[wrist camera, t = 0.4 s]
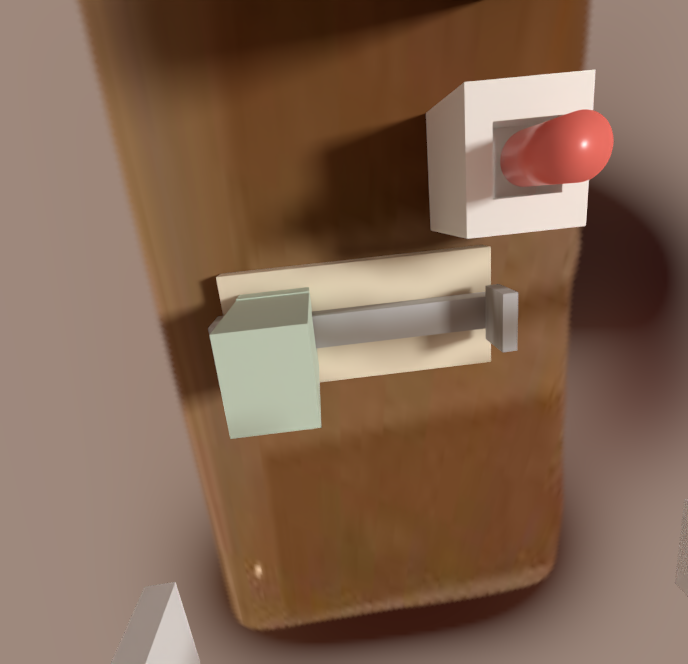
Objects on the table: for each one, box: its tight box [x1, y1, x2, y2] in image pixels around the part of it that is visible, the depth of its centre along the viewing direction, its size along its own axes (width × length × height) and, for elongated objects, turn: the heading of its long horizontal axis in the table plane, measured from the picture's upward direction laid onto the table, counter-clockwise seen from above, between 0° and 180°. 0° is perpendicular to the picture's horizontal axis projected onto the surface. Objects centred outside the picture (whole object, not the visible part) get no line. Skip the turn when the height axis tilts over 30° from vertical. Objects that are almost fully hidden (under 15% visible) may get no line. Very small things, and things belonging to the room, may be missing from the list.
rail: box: [208, 245, 518, 386], centre depth 31 cm, size 9×20×6 cm, turn 96°
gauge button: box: [500, 109, 613, 187], centre depth 21 cm, size 3×3×5 cm
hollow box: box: [426, 70, 595, 239], centre depth 27 cm, size 8×7×8 cm
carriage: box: [210, 287, 321, 439], centre depth 27 cm, size 6×5×10 cm
